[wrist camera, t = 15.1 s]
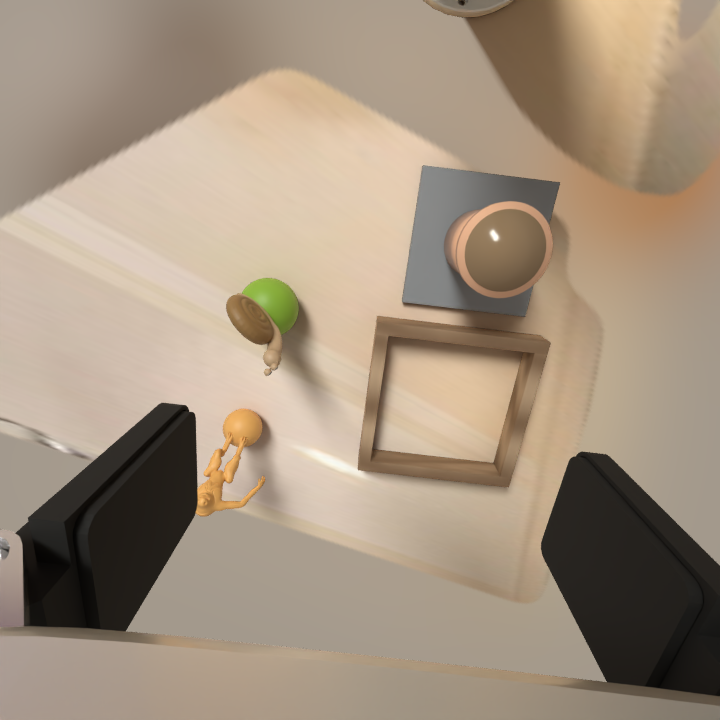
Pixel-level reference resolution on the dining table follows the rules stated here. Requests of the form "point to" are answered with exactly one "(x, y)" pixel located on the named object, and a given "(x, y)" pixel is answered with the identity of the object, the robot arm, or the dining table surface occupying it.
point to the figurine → (239, 432)
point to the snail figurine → (264, 315)
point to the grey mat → (436, 214)
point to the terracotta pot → (500, 248)
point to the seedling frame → (515, 419)
